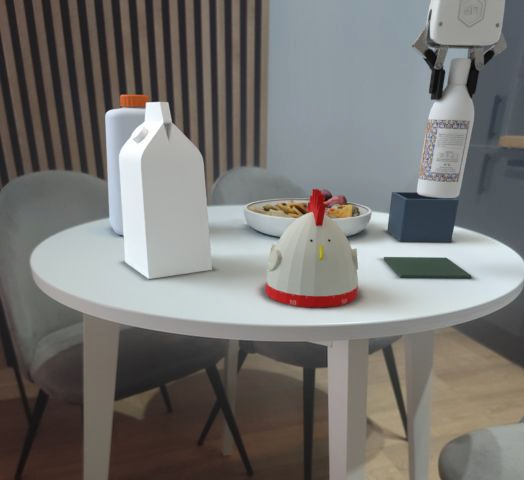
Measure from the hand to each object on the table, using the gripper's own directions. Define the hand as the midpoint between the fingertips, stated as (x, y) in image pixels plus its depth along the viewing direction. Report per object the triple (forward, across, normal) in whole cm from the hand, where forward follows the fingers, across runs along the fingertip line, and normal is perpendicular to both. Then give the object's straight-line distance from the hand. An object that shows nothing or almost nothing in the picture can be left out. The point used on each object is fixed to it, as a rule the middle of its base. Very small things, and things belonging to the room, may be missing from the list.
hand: (450, 98), depth 78 cm
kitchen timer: (+27, -22, -14) cm, 38 cm away
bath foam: (+15, 0, 0) cm, 15 cm away
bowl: (+27, -18, +34) cm, 47 cm away
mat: (+27, 0, 0) cm, 27 cm away
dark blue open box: (+27, +7, +27) cm, 39 cm away
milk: (+27, -46, 0) cm, 54 cm away
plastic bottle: (+27, -56, +31) cm, 70 cm away
